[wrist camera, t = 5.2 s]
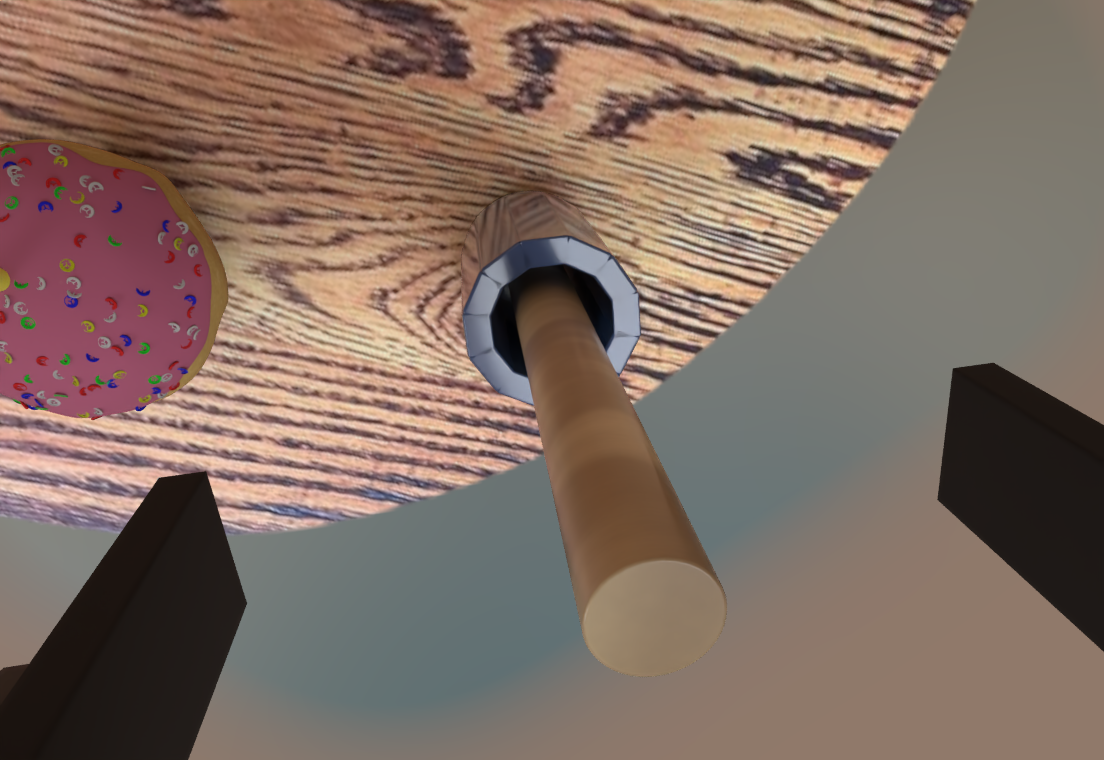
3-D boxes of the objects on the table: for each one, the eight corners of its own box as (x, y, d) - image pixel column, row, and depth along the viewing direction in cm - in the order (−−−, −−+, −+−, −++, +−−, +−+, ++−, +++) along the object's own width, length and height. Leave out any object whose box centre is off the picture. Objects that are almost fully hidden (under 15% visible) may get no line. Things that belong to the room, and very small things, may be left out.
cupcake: (-50, 256, 27) (-400, 394, 16) (90, 66, 25) (-195, 74, 14) (168, 404, 30) (-1, 607, 19) (307, 244, 28) (209, 365, 17)
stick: (555, 231, 28) (728, 548, 10) (559, 283, 29) (728, 666, 11) (500, 237, 28) (576, 570, 10) (507, 290, 29) (588, 688, 11)
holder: (590, 183, 28) (635, 227, 21) (599, 312, 30) (644, 394, 23) (454, 198, 28) (451, 248, 21) (472, 328, 30) (476, 416, 23)
